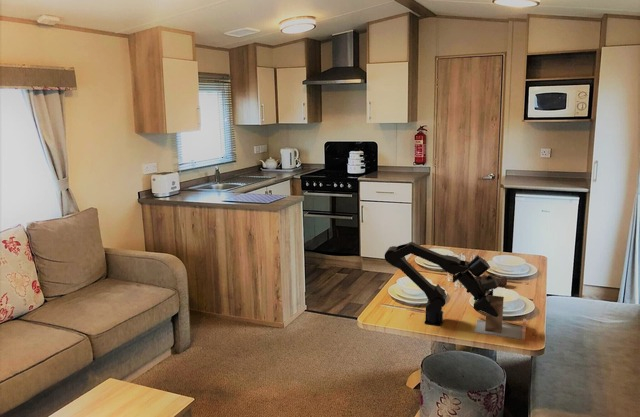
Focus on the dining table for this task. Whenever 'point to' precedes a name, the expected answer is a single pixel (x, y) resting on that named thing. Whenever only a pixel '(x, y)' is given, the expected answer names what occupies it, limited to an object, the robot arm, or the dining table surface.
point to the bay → (503, 330)
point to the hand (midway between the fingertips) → (498, 312)
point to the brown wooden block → (491, 321)
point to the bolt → (499, 280)
